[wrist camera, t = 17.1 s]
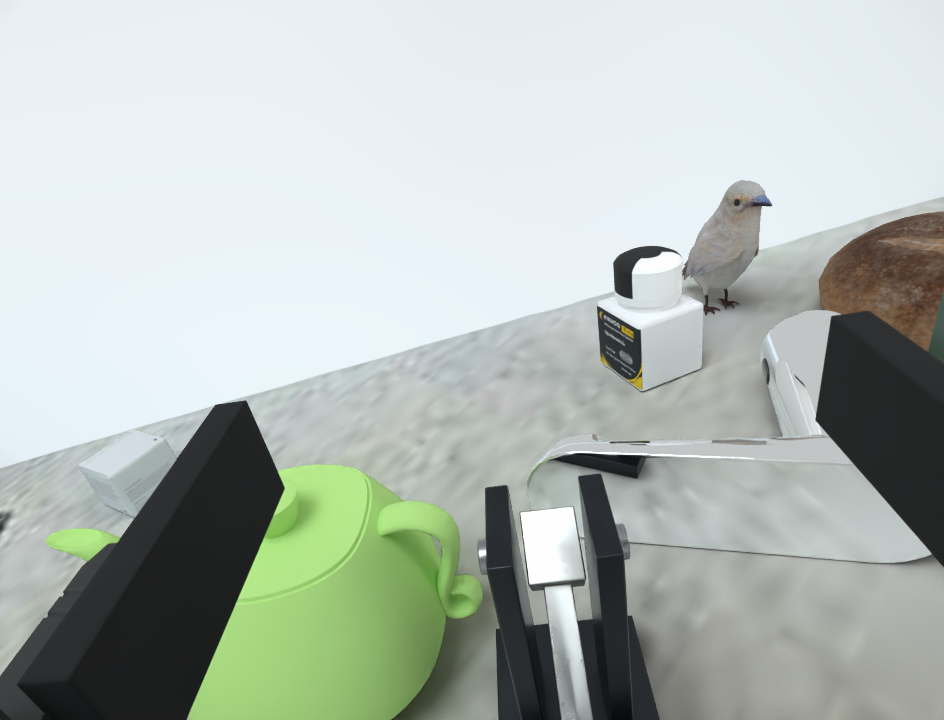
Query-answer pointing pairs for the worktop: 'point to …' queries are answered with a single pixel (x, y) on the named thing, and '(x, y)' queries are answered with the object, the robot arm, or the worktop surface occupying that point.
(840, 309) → the bread
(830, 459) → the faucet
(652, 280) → the medicine bottle
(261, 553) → the teapot
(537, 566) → the lever
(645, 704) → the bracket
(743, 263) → the bird
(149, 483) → the small box
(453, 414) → the worktop surface
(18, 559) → the worktop surface
